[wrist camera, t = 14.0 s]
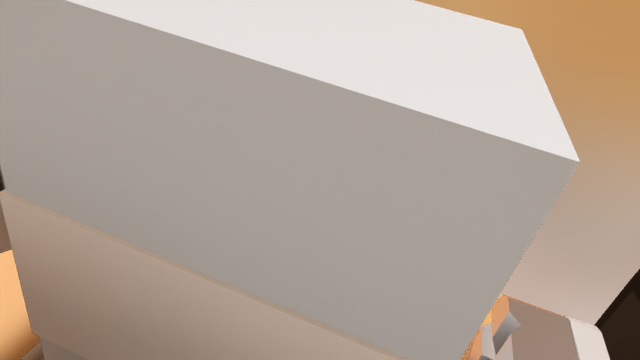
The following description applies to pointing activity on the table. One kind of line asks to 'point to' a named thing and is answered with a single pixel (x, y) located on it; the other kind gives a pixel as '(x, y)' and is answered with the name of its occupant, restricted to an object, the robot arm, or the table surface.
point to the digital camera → (623, 323)
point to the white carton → (269, 175)
